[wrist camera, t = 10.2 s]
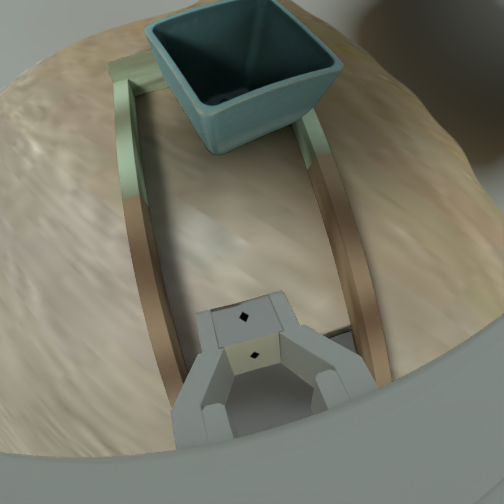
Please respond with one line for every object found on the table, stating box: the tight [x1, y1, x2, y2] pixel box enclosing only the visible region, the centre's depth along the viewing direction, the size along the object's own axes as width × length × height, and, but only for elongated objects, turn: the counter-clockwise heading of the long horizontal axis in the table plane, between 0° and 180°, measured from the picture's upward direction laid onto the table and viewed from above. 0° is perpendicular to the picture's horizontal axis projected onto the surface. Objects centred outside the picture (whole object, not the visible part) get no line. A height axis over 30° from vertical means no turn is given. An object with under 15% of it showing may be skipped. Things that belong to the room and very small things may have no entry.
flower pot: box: [144, 0, 344, 155], centre depth 18 cm, size 9×9×9 cm
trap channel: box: [108, 50, 392, 437], centre depth 19 cm, size 36×14×4 cm, turn 15°
